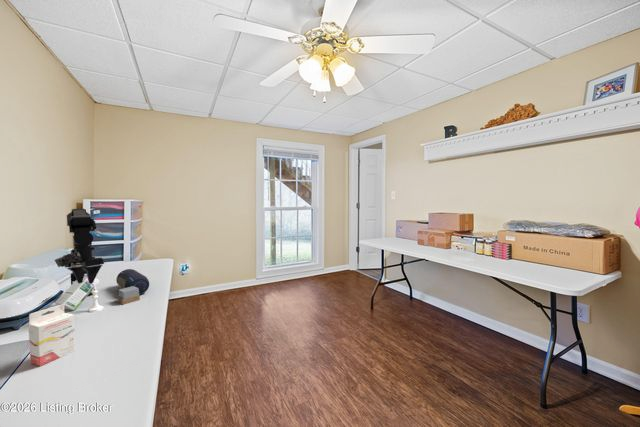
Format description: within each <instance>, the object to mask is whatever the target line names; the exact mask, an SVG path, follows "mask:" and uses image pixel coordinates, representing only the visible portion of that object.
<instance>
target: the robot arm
mask: <svg viewBox="0 0 640 427" xmlns="http://www.w3.org/2000/svg"><path fill="white" fill-rule="evenodd" d="M66 225H67V227H69V228H68V230H69V233H70V234H71V233H73V235H72V242H73V243H72V244H73V249H71V250H70V253H66V254H65V255H63V256H59V257H58V258H56V259H54V262H55V264H56V265H57V267H58V268H60V267H62V268H63V267H64V268H66V270H69V271H70V272H72V273H70V286H71V285H72V284H73V283H74V282H75V281H76V280H77V282H78V283H82V281H83V278H84V274H87V277H88V281H89V283H90V284H91V283H93V282H94V280H95V278H96V277H97V275H98V273H99V271H100V269H101V268H102V267H103V265H105V259H104V258H102V257H96V256H93V255H94V254H93V251H94V250H95V247H93V241H94V235H93V234H92V233H91V232H95V230H97V224H96V221H95V219H94V218H92V216H91V214H90V213H88V212H87V209H86V208H72V209H71V212H69V213H68V214H66ZM92 292H93V291H91V292H90V294H89V295H88V296H87V297H89V296H93V294H92Z"/></svg>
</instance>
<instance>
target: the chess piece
mask: <svg viewBox="0 0 640 427" xmlns="http://www.w3.org/2000/svg"><path fill="white" fill-rule="evenodd" d="M91 292H92V294H93V295H92V297H91V298H92V299H93V305H92V307H90V308H88V312H89V313H96V312H99V311H102V310H103V309H104V306H103V305H100V304H99V303H98V298H99V295H98V293H99V291H98V288H97V286H96V287H94V288H93V289H92V291H91Z"/></svg>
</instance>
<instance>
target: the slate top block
mask: <svg viewBox="0 0 640 427" xmlns="http://www.w3.org/2000/svg"><path fill="white" fill-rule="evenodd" d="M117 291H118V296H120V297H122V298H124V299H125V298H129V297H132V296H136V295H139V288H137V287H134V286H131V287H127V288H124V289H123V288H120V289H118V290H117Z"/></svg>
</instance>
